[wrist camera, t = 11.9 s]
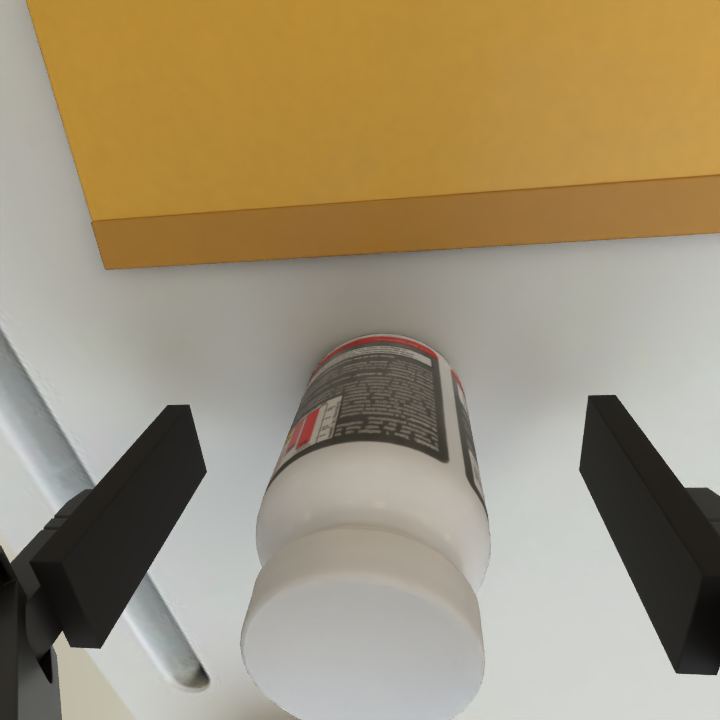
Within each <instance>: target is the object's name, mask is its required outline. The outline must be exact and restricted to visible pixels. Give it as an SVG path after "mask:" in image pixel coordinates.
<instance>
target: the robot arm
mask: <svg viewBox="0 0 720 720" xmlns="http://www.w3.org/2000/svg"><path fill="white" fill-rule="evenodd" d="M579 471H580V473H581V475H582V477H583V479H584V481H585V483H586V485H587V488H588V490H589V492H590V494H591V496H592V498H593V500H594V502H595V504H596V506H597V509H598V511H599V513H600V515H601V517H602V519H603V521H604V523H605V525H606V527H607V530H608V532H609V534H610V536H611V538H612V540H613V542H614V544H615V546H616V548H617V551H618V553H619V555H620V557H621V559H622V561H623V563H624V565H625V567H626V569H627V572H628V574H629V576H630V578H631V580H632V582H633V584H634V586H635V588H636V590H637V593H638V595H639V597H640V599H641V601H642V603H643V605H644V607H645V609H646V611H647V614H648V616H649V618H650V620H651V622H652V624H653V626H654V628H655V630H656V632H657V635H658V637H659V639H660V641H661V643H662V645H663V647H664V649H665V651H666V653H667V656H668V658H669V660H670V662H671V664H672V666H673V668H674V670H675V672H676V673H678V674H701V675H717V673H718V670H719V667H720V496H719V495H717V494H716V493H714V492H713V491H711V490H710V489H708V488H684V487H683V485H682V484H681V483H680V481H679V480H678V479H677V477H676V476H675V474H674V473H673V472H672V470H671V469H670V468H669V466H668V465H667V464H666V462H665V461H664V460H663V458H662V457H661V456H660V454H659V453H658V452H657V450H656V449H655V448H654V446H653V445H652V444H651V442H650V441H649V440H648V438H647V437H646V435H645V434H644V433H643V431H642V430H641V429H640V427H639V426H638V425H637V423H636V422H635V421H634V419H633V418H632V417H631V415H630V414H629V413H628V411H627V410H626V409H625V407H624V406H623V405H622V403H621V402H620V401H619V399H618V398H617V396H616V395H592V396H588V403H587V411H586V419H585V427H584V435H583V443H582V452H581V460H580V468H579ZM206 473H207V470H206V467H205V463H204V459H203V455H202V451H201V447H200V444H199V440H198V436H197V432H196V428H195V424H194V421H193V417H192V413H191V409H190V405H167V406H166V408H165V409H164V410H163V411H162V412H161V413H160V414H159V416H158V417H157V418H156V419H155V420H154V421H153V422H152V423H151V425H150V426H149V427H148V428H147V429H146V430H145V431H144V432H143V434H142V435H141V436H140V437H139V438H138V439H137V440H136V441H135V443H134V444H133V445H132V446H131V447H130V448H129V449H128V450H127V452H126V453H125V454H124V455H123V456H122V457H121V458H120V460H119V461H118V462H117V463H116V464H115V465H114V466H113V467H112V469H111V470H110V471H109V472H108V473H107V474H106V475H105V476H104V478H103V479H102V480H101V481H100V482H99V483H98V484H97V485H96V487H95V488H94V489H85V490H84V491H82V492H81V493H79V494H78V495H77V496H75V497H74V498H72V499H71V500H69V501H68V502H67V503H66V504H65V505H64V506H63V507H62V508H61V509H60V510H59V511H58V512H57V514H56V515H55V517H54V519H51V520H50V521H49V522H48V523H47V524H46V525H45V527H44V530H41V531H40V532H39V533H38V534H37V535H36V536H35V537H34V538H33V539H32V541H31V542H30V543H29V544H28V545H27V546H26V547H25V548H24V549H23V550H22V551H21V552H20V554H19V555H18V556H17V557H16V558H15V559H14V560H13V561H12V562H11V563H10V562H9V560H8V558H7V556H6V554H5V553H4V550H3V549H2V547H1V546H0V720H62V714H61V702H60V690H59V677H58V665H57V655H56V652H55V650H54V648H53V646H52V645H53V643H54V642H55V640H56V639H57V637H58V636H59V635H60V633H61V632H62V631H63V632H64V634H65V637H66V639H67V641H68V642H69V645H70V647H76V648H99V649H101V647H102V645H103V644H104V642H105V640H106V639H107V637H108V635H109V634H110V632H111V630H112V629H113V627H114V625H115V624H116V622H117V620H118V619H119V617H120V615H121V614H122V612H123V610H124V609H125V607H126V605H127V604H128V602H129V601H130V599H131V597H132V596H133V594H134V592H135V591H136V589H137V587H138V586H139V584H140V582H141V581H142V579H143V577H144V576H145V574H146V572H147V571H148V569H149V567H150V566H151V564H152V562H153V561H154V559H155V557H156V556H157V554H158V552H159V551H160V549H161V547H162V546H163V544H164V542H165V541H166V539H167V537H168V536H169V534H170V532H171V531H172V529H173V527H174V526H175V524H176V522H177V521H178V519H179V517H180V516H181V514H182V512H183V511H184V509H185V507H186V506H187V504H188V502H189V501H190V499H191V498H192V496H193V494H194V493H195V491H196V489H197V488H198V486H199V484H200V483H201V481H202V479H203V478H204V476H205V474H206Z"/></svg>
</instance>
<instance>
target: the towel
mask: <svg viewBox="0 0 720 720" xmlns="http://www.w3.org/2000/svg"><path fill="white" fill-rule="evenodd" d="M26 2H27V5H28V9H29V12H30V15H31V19H32V22H33V25H34V29H35V32H36V35H37V39H38V42H39V45H40V49H41V52H42V55H43V59H44V62H45V65H46V69H47V72H48V75H49V79H50V82H51V85H52V89H53V92H54V95H55V99H56V102H57V105H58V109H59V112H60V115H61V119H62V122H63V125H64V128H65V132H66V135H67V138H68V142H69V145H70V148H71V152H72V155H73V158H74V162H75V165H76V168H77V172H78V175H79V178H80V182H81V185H82V188H83V192H84V195H85V198H86V202H87V205H88V208H89V212H90V215H91V218H92V222H91V224H92V228H93V231H94V234H95V238H96V241H97V244H98V248H99V251H100V254H101V258H102V261H103V264H104V267H105V269H106V270H113V269H129V268H146V267H162V266H179V265H196V264H212V263H229V262H245V261H262V260H279V259H295V258H312V257H328V256H345V255H362V254H378V253H395V252H411V251H428V250H444V249H461V248H478V247H494V246H511V245H527V244H544V243H561V242H577V241H594V240H610V239H627V238H644V237H660V236H677V235H693V234H710V233H720V0H26Z"/></svg>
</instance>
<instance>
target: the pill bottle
mask: <svg viewBox="0 0 720 720" xmlns="http://www.w3.org/2000/svg"><path fill="white" fill-rule="evenodd" d="M256 545H257V551H258V555H259V559H260V563H261V565H262V569H261V571H260V573H259V575H258V577H257V579H256V582H255V585H254V589H253V594H252V597H251V600H250V604H249V607H248V610H247V613H246V617H245V620H244V623H243V627H242V632H241V641H240V647H241V654H242V658H243V662H244V665H245V667H246V670H247V672H248V674H249V675H250V677H251V678H252V680H253V682H254V683H255V684H256V686H257V687H258V688H259V689H260V690H261V691H262V692H263V693H264V694H265V695H266V696H267V697H268V698H269V699H270V700H271V701H273V702H274V703H275V704H276V705H277V706H279V707H280V708H281V709H283V710H284V711H286V712H288V713H290V714H291V715H293V716H295V717H296V718H298V719H300V720H451V719H452V718H454V717H455V716H457V715H458V714H459V713H461V712H462V711H463V710H464V709H465V708H466V707H467V706H468V705H469V704H470V702H471V701H472V700H473V698H474V697H475V695H476V694H477V692H478V690H479V688H480V685H481V683H482V679H483V675H484V666H485V658H484V646H483V636H482V627H481V618H480V611H479V605H478V601H477V598H476V593H477V591H478V590H479V588H480V586H481V584H482V582H483V580H484V577H485V574H486V571H487V568H488V564H489V558H490V545H491V544H490V531H489V521H488V514H487V510H486V505H485V499H484V494H483V490H482V483H481V479H480V473H479V469H478V463H477V457H476V452H475V447H474V442H473V437H472V431H471V426H470V421H469V415H468V410H467V404H466V399H465V394H464V391H463V388H462V386H461V383H460V381H459V378H458V377H457V375H456V373H455V371H454V370H453V368H452V367H451V366H450V364H449V363H448V362H447V361H446V360H445V359H444V358H443V357H442V356H441V355H440V354H439V353H437V352H436V351H435V350H433V349H432V348H430V347H429V346H427V345H425V344H424V343H421V342H419V341H417V340H414V339H412V338H408V337H405V336H400V335H394V334H372V335H366V336H361V337H358V338H355V339H352V340H350V341H348V342H345V343H343V344H342V345H340V346H338V347H337V348H335V349H334V350H333V351H331V352H330V353H329V354H328V355H327V356H326V357H325V358H324V359H323V360H322V361H321V362H320V364H319V365H318V366H317V368H316V369H315V371H314V372H313V374H312V376H311V378H310V380H309V382H308V385H307V388H306V391H305V393H304V396H303V398H302V400H301V403H300V406H299V408H298V411H297V413H296V416H295V418H294V421H293V423H292V426H291V428H290V431H289V434H288V436H287V439H286V441H285V444H284V446H283V449H282V451H281V454H280V456H279V459H278V462H277V464H276V467H275V469H274V472H273V474H272V477H271V479H270V481H269V484H268V487H267V489H266V492H265V494H264V497H263V500H262V503H261V507H260V510H259V513H258V517H257V525H256Z"/></svg>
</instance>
